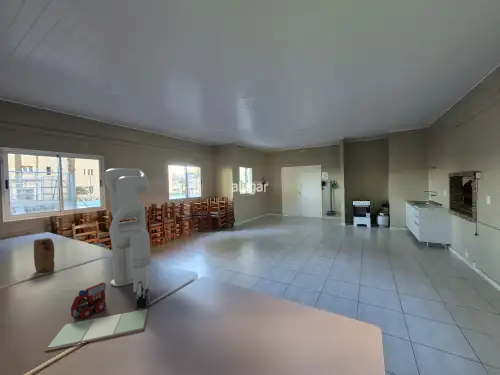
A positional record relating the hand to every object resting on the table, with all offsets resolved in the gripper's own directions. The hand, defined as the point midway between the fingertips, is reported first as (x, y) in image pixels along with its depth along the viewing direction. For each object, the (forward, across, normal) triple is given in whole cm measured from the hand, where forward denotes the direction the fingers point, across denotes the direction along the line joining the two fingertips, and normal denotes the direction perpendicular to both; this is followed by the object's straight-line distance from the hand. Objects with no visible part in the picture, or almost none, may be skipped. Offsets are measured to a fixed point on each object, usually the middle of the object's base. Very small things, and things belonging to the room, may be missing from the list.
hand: (143, 302), depth 97 cm
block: (+1, -71, -65) cm, 96 cm away
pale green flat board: (+1, +12, -12) cm, 17 cm away
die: (+1, 0, 0) cm, 1 cm away
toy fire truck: (+2, -2, -20) cm, 20 cm away
